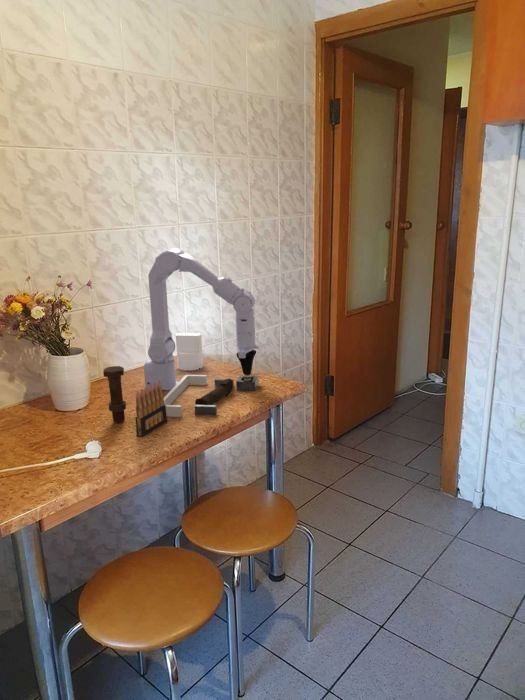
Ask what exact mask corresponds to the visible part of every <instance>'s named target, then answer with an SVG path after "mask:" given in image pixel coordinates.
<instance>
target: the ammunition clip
mask: <svg viewBox="0 0 525 700" xmlns="http://www.w3.org/2000/svg"><path fill="white" fill-rule="evenodd" d="M164 397H165V396H164V393H163V390H162V386H161V383H160V381H158V385H156V383H154V387H152V385H150V388H149V390H148V388H147V387H146V388H145V387H144V389H143V388H141V390H140V392H139V391H138V390H137V391H136V395H135V411H136V417H135V429H136V430H135V431H136V432H135V433H136V437H140V438H144V437H146V436H147V435H148V434H149V435H150V434H151V433H152V432H154V431H155V430H157V429H159V428H160V427H162V426H163V424H164V425H165V424H167V423H168V417H167V415H166V406H165V405H164ZM153 430H154V431H153ZM150 432H151V433H150Z"/></svg>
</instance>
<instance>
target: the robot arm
mask: <svg viewBox="0 0 525 700" xmlns="http://www.w3.org/2000/svg"><path fill="white" fill-rule="evenodd" d="M150 268H151V269H150V271H149V273H148V290H149V291H148V292H149V301H150V303H149V304H150V312H151V313H150V314H151V327H152V328H151V330H152V331H151V334H150V335H151V336H150V339H149V342H150V343H149V346H148V350H147V355H148V357H149V358H150V359H146V361H145V362H144V364H143V365H144V366H143V375H144V383H145V384H144V386H145V387H144V389H145V388H146V387H147V388H148V390H149V388H150V385H152V387H154V383H156V385H158V381H160V383H161V386H162V391H171V390H172V389H173V388H174V387H175V386H176V385H177V383H178V382H179V381H180V380H177V377H176V376H177V375H176V367H175V366H176V365H175V364H176V363H175V356H174V354H173V353H174V352H175V350H176V341H174V339H173V334H172V331H171V330H170V322H169V319H170V318H169V310H168V309H169V308H168V307H169V306H168V292H167V280H168V278H169V277H170V276H171V275H173V273H174V272H176V271H178V272H184V273H185V272H186V273H191V274H192V275H194V276H196V277H197V278H198V279H201V280H202V281H203V282H205V283H207V284H208V285H210V286H211V287H212V289H213V293H214V294H215V295H217V297H219V298H221V299H223V301H225V302H226V303H228V304H229V305H232V307H233V309H234V311H235V330H236V331H235V332H236V346H235V347H236V351H237V353H236V357H237V359H238V361H239V363H240V365H241V366H240V367H241V370H242V373H243V374H244V375H250V374H251V373H252V370H253V363H254V359H255V356H256V353H257V350H258V349H259V348H260V344H256V329H255V328H256V327H255V325H256V324H255V322H256V321H255V315H254V314H255V311H254V306H255V304H256V301H255V297H254V294H252V293H251V291H248V290H246V291H245V288H243V287H242V288H241V287H239V286H238V285H237V284H236V283H234V282H232V281H233V279H232V278H230V277H228V278H227V277H226V276H224V277H223V276H222V277H219V276H218V275H216V274H215V273H214V272H212V271H211V270H209V268H207V267H206V266H205V265H203V264H202V263H201V262H200V261H199V260H196V259H195V258H194V256H192V255H191V254H189V253H188V252H184V250H182V249H181V248H178V247H174V248H171V249H170V250H163V251H162V252H161V253H160V254H159V255H158V256H156V257H155V260H154V263H153V265H152V267H150Z"/></svg>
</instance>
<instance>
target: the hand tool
mask: <svg viewBox="0 0 525 700" xmlns="http://www.w3.org/2000/svg"><path fill="white" fill-rule="evenodd" d="M225 379H226V380H224V381H222V382H220V386H219V387H217V388H214V389H212V390H211V391H209V392H208V393H206V394H205V395H203V396H201V397H200V398H196V399H195V402H194V404H195V405H215V403H217V402H218V401H220V400H221V399H222V398H224V397H229V396H230V395H231V394H232V392H233V389H234V388H233V383H232V380H231V379H232V378H225ZM230 393H231V394H230ZM229 394H230V395H229ZM228 395H229V396H228ZM195 405H194V406H195Z"/></svg>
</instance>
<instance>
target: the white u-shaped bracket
mask: <svg viewBox="0 0 525 700" xmlns="http://www.w3.org/2000/svg"><path fill="white" fill-rule="evenodd" d="M207 376H208V374H184V376H183V377H182V378H181V379H180V380H178V381H179V382H178V383H177V385H176V386H175V387H174V388H173V389H172V390H169V391H168V392H167V394H166V395H164V396H163V397H164V405H165V406H166V415H167V418H168V417H170V418H171V417H172V418H181V417H183V409H182V408H183V407H182V405H179V404H178V405H177V404H175V405H174V404H173V403H174V401H175V400H176V399H177V398H178V397H179V396H180V395H181V394H182V393H183V392H184V390H186V388H187V387H188V386H189V385H191V386H192V385H193V386H195V385H196V386H207V385H208V377H207Z"/></svg>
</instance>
